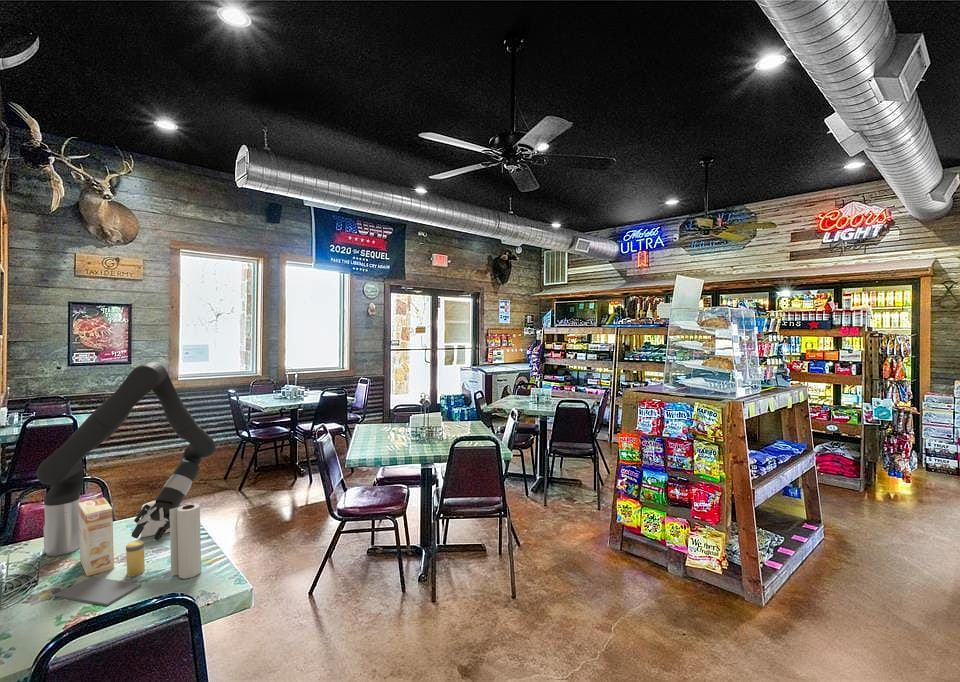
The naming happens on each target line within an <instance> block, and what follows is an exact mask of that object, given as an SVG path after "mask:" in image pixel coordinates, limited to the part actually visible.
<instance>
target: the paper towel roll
mask: <svg viewBox="0 0 960 682" xmlns="http://www.w3.org/2000/svg"><path fill="white" fill-rule="evenodd" d="M169 537H170V538H169V539H170V545H169V547H170V576H171V577H174V576H176V575H178V577H179V578H180V579H184V580H185V579H190V578H194V577H197V576H198V575H199V574H200V573H201V572H202V548H201V547H202V545H201V544H202V543H201V540H202V538H201V505H200V504H199V503H188V504H183V505H179V507H176V508H173V509H170V532H169Z"/></svg>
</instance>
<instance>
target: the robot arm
mask: <svg viewBox="0 0 960 682" xmlns="http://www.w3.org/2000/svg"><path fill="white" fill-rule="evenodd" d="M151 392H153V393H154V395H155V396H156V397H157V399H158V400H159V403H160V404H161V407H162V409H163V413H164V415H165V418H166V420H167V422H168V424H169V425H170V427H171V428H172V429H173V431H174V432H175V434H176V435H177V436H178V438H179V439H181V440H186V441H187V442H188V443H189V445H187V447H186V448H185V450H184V451H183V453H182V456H181V458H180V461H179V464H178V466H176V468H175V470H174V471H173V472H172V474H171V476H170V477H169V478H168V479H167V480H166V482H165V483H164V485H163V486H162V488H161V490H160V491H159V493H158V494H157V496H156V497H155V501H156V503H155V504H154V505H153V506H149V505H147V504H146V503H145V504H146V505H145V506H144V507H143V509H142V510H141V509H140V512H139V513H138V515H137V516H136V517H135V518H134V520H133V521H134V522H135V523H136V526H135V528H134V530H133V531H132V532H131V537H132V538H134V539H138V538H139V537H140V536H141V532H142V531H143V529H144V527H145V526H146V525H147V524H149V523H152V522H153V521H161V527H159V529H158V530H157V532H156V534H155V535H153V536H152V539H153V541H156V542H159V541H160V540H161V539H162V538H163V536H164V535H165V534H166V533H165V532H166V530H168V529H169V528H170V509H173V508H176V507H179V506H181V503H182V502H183V500H184V499H185V498H186V495H187V494H188V493H189V490H190V489H191V486H192V485H193V482H194V481H195V479H196V477H197V476H198V474H199V472H200V463H201V462H202V461H203V459H206V458H208V457H210V456H212V455H213V454H214V453H215V451H216V443H215V441H214V439H213V438H212V436H210V435H209V434H208V433H207V432H206V431H205V430H204V429H203V428H201V426H200V425H199V424H198V422H196V420H195V419H194V417H193V415H192V413H190V411H189V410H188V409H187V407H186V405H185V404H184V403H183V401H182V399H181V397H180V395H179V394H178V391H177V390H176V388H175V386H174V384H173V382H172V380H171V377H170V375H169V372H168V371H167V369H166V368H165V366H164V365H163V364H161V363H160V362H156V361H148V362H145V363H143V364H140V365H137V366H136V367H134V369H132V370H131V371H130V373H129V374H128V375H127V377H126V378H125V379H124V381H123V382H122V383H121V384H120V385H119V387H118V388H117V389H116V390H115V392H114V393H112V395H110V396H109V397H108V398H107V399H105V401H103V402H102V403H101V404H100V405H99V406H98V407H97V408H96V409H95V410H94V411H93V412H92V413H91V414H90V415H89V416H88V417H87V418H86V419H85V420H84V422H82V424H80V426H79V427H77V429H76V430H75V431H74V432H73V433H72V434H71V435H70V437H69V438H68V439H67V440H66V441H65V442H64V443H63V444H62V445H61V446H60V447H59V448H57V449H56V450H55V451H54V452H52V454H50V455H49V456H48V457H47V458H46V459H44V460H43V461H41V463H40V464H39V466H38V467H37V469H36V478H37V480H38V482H39V483H41V484H43V485H45V486H51V487H50V488H49V490H48V491H47V493H46V494H45V495H44V497H43V501H44V502H43V503H44V505H43V506H44V524H43V528H42V529H43V549H44V550H43V552H44V553H45V554H46V556H48V557H56V556H62V555H63V556H64V555H67V554H69V553H73V552H75V551H77V550H80V542H79V507H78V503H80V502H81V493H82V490H83V485H84V463H83V460H82V459H83V458H84V457H85V456H86V455H88V453H90V452H91V451H93V450H94V449H96V448H98V447H99V446H100V445H102V443H104V442H105V441H107V439H109V438H110V437H111V436H113V435H114V434H115V433H116V431H118V429H120V427H121V426H122V425H123V424H124V422H125V421H126V420H127V418H128V417H129V415H130V413H131V412H132V410H133V408H134V407H135V406H136V404H137V403H139V402H140V400H142V399H143V398H144V397H145V396H146V395H147V394H149V393H151ZM141 516H142V518H141ZM149 516H150V517H151V518H150V517H149ZM146 520H147V521H146ZM144 521H145V522H144Z"/></svg>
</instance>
